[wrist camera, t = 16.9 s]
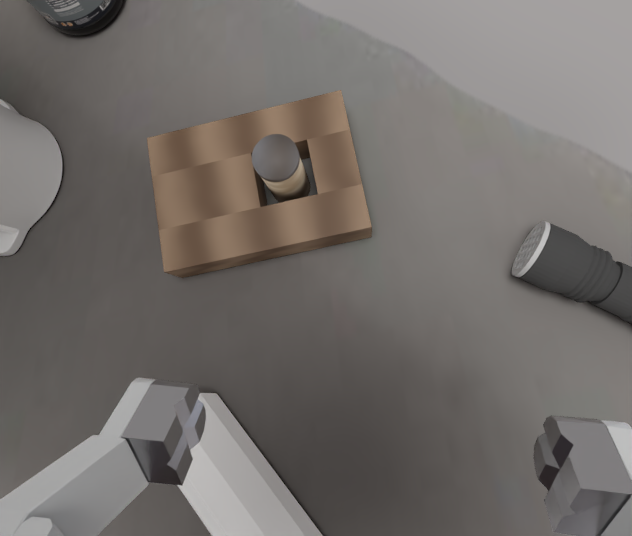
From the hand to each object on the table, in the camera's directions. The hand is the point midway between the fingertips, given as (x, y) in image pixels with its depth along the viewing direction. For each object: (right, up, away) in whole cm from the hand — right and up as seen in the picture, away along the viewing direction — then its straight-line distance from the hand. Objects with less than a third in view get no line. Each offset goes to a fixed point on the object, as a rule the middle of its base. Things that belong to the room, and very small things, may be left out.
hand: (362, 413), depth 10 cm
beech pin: (-4, +12, +34) cm, 37 cm away
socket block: (-7, +11, +35) cm, 37 cm away
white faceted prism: (-7, -19, +30) cm, 36 cm away
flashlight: (+25, +1, +30) cm, 39 cm away
